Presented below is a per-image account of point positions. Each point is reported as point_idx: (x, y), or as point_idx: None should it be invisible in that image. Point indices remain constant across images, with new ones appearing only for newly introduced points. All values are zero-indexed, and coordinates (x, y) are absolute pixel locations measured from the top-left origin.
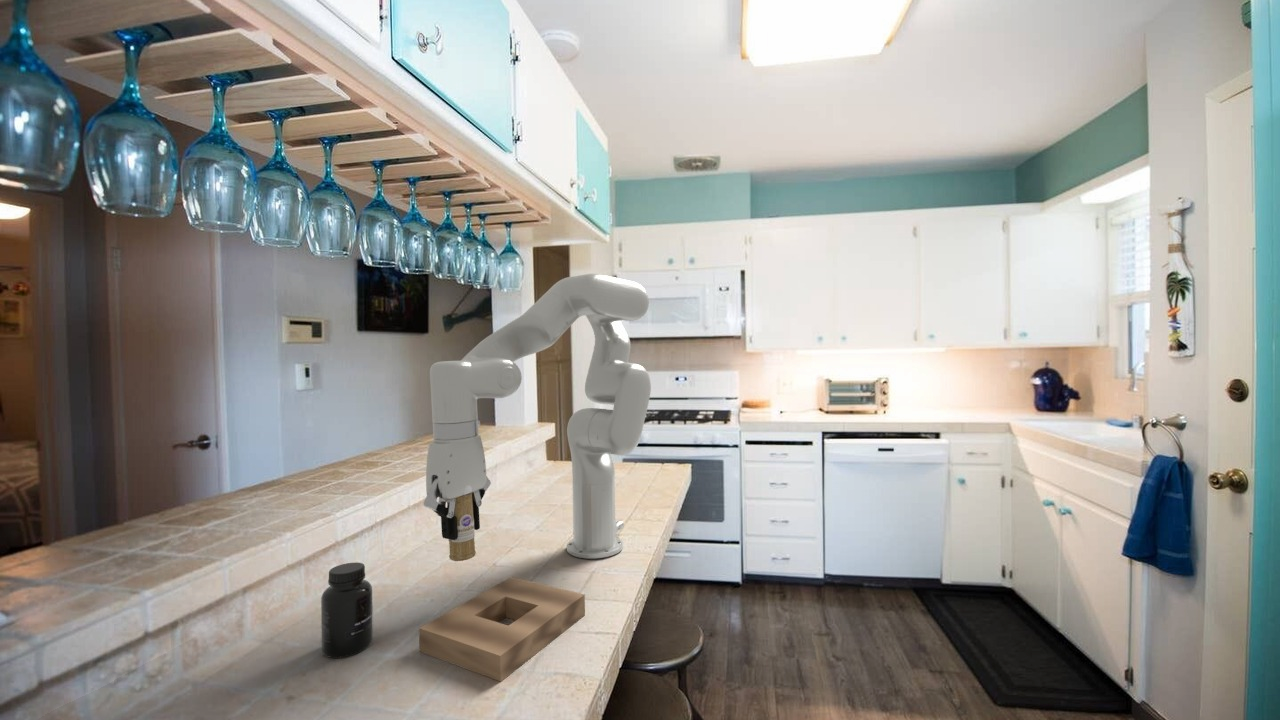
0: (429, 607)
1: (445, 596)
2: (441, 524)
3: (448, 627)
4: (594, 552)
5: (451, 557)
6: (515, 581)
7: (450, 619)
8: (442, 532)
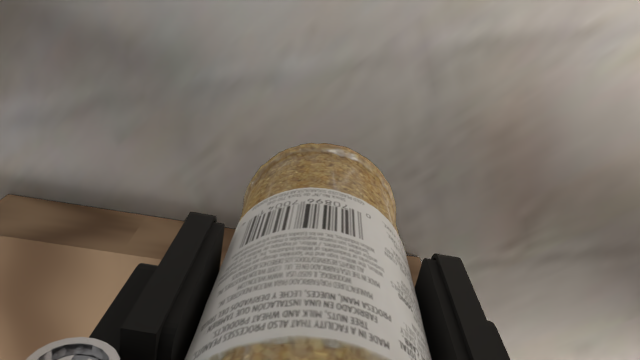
0: (248, 12)
1: (353, 10)
2: (107, 311)
3: (18, 311)
4: None
5: (247, 194)
6: None
7: (60, 287)
8: (137, 272)
